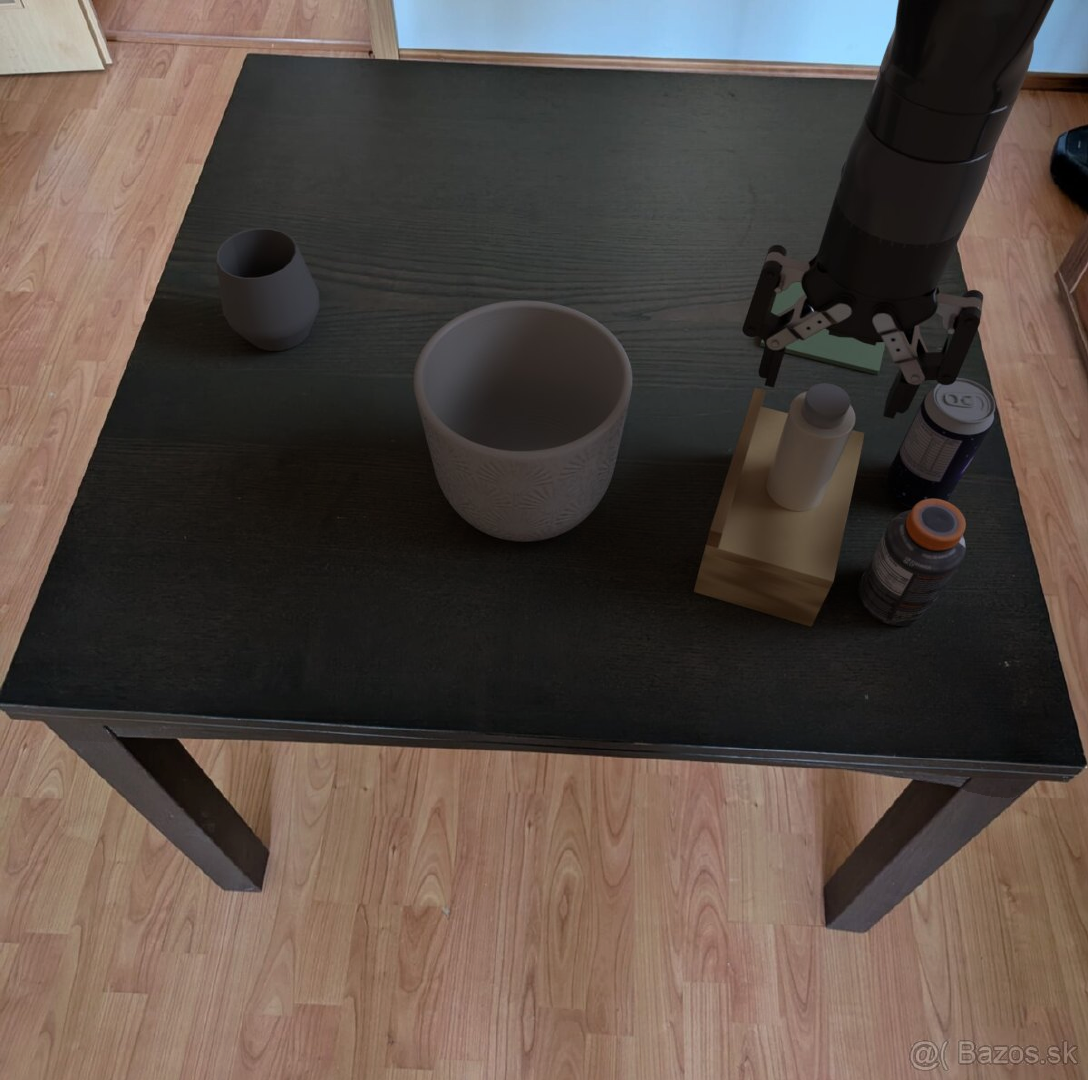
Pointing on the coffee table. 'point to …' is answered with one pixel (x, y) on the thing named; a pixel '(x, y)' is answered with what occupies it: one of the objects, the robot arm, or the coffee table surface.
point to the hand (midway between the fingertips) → (830, 394)
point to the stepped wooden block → (774, 529)
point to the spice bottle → (810, 447)
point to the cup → (266, 288)
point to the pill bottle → (913, 562)
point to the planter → (523, 415)
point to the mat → (829, 341)
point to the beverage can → (941, 442)
